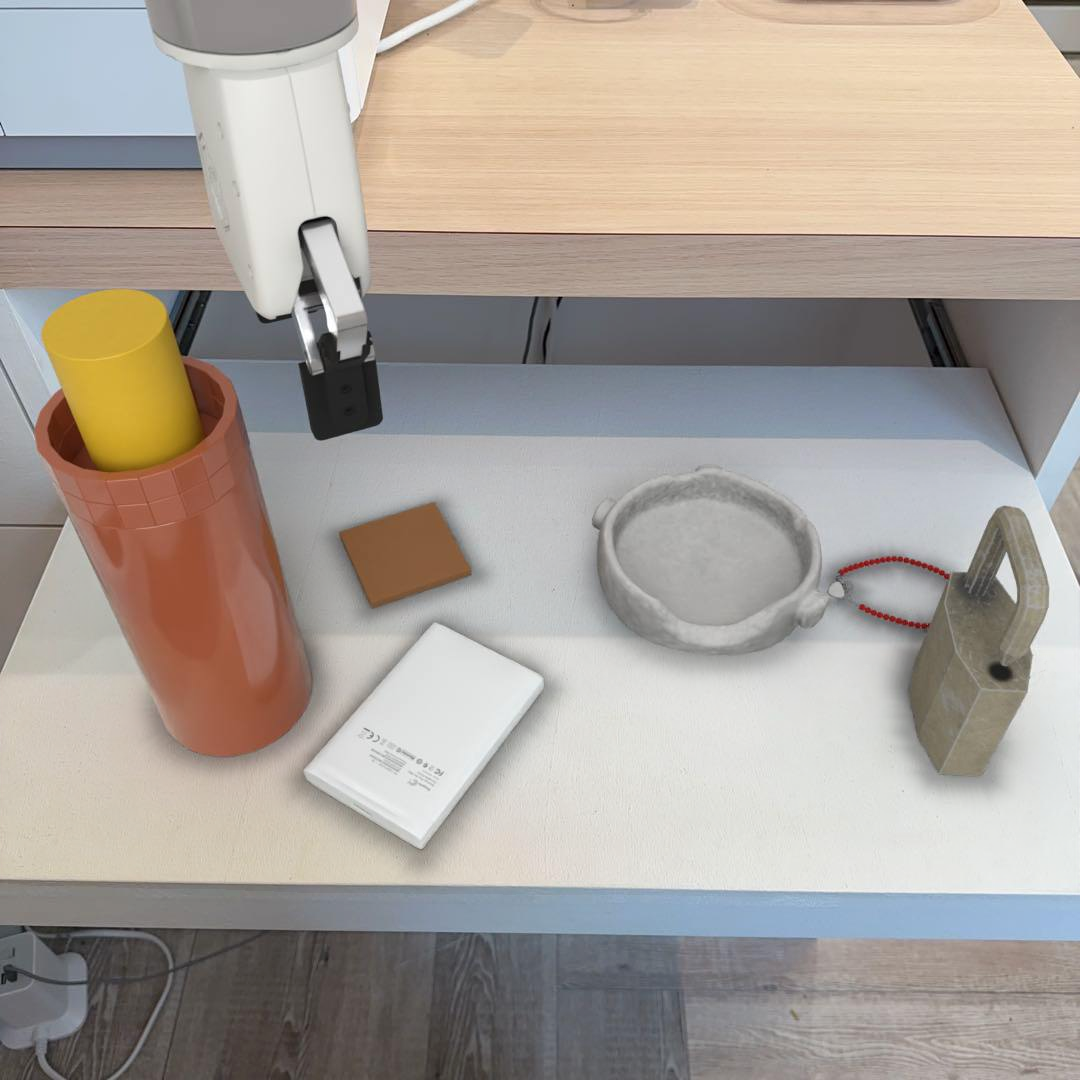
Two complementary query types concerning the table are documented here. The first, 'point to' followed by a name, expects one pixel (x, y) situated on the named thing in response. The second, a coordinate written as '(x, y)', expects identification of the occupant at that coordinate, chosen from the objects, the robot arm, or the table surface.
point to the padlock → (980, 649)
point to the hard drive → (425, 733)
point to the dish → (709, 562)
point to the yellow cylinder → (123, 379)
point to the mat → (404, 554)
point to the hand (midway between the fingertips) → (317, 368)
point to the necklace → (838, 592)
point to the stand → (191, 573)
